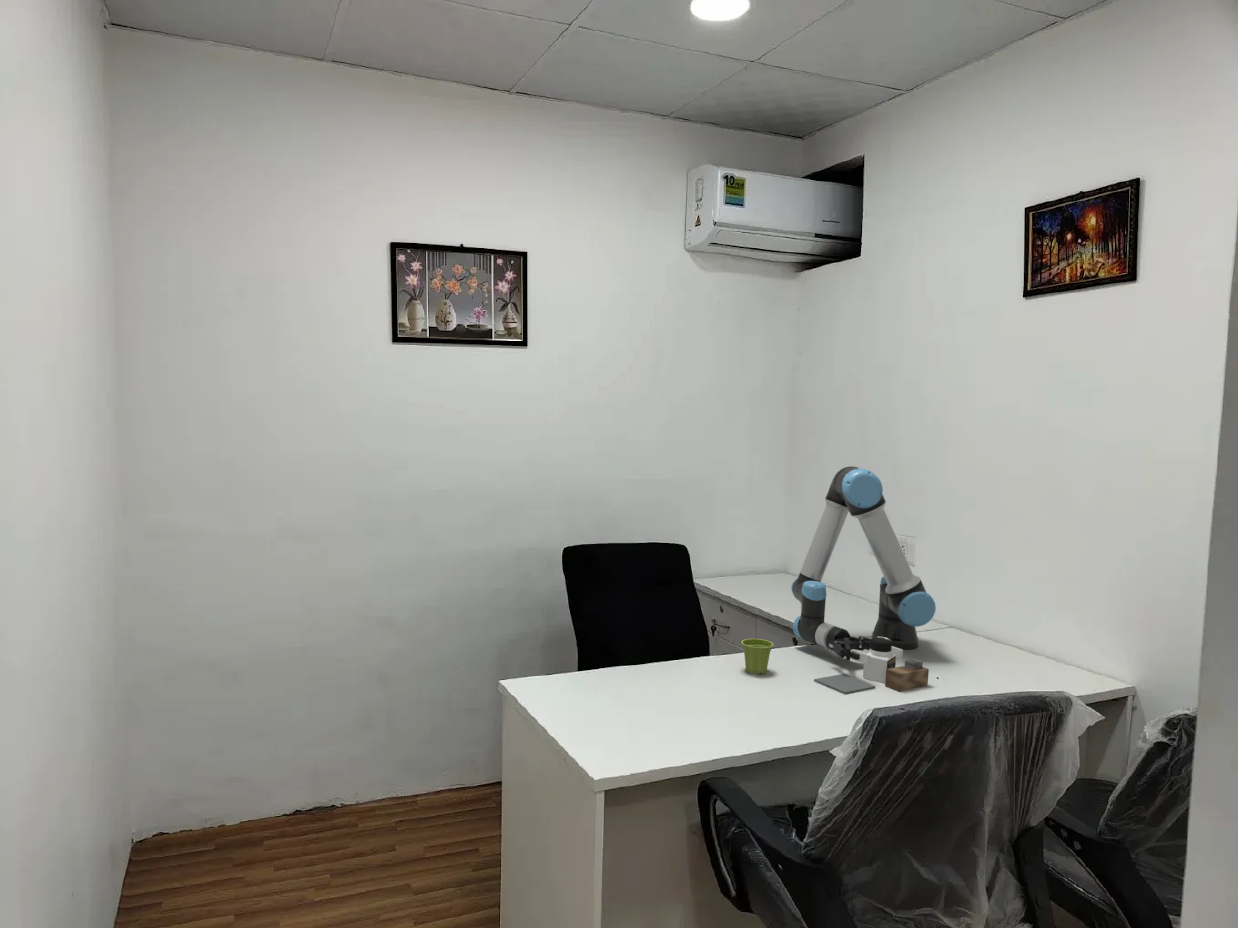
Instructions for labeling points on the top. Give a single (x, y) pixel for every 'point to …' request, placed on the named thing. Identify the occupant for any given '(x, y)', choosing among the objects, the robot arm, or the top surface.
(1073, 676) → the top surface
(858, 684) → the mat
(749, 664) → the plant pot
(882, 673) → the medicine bottle
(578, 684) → the top surface
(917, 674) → the plane body block
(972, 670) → the top surface
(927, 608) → the robot arm
